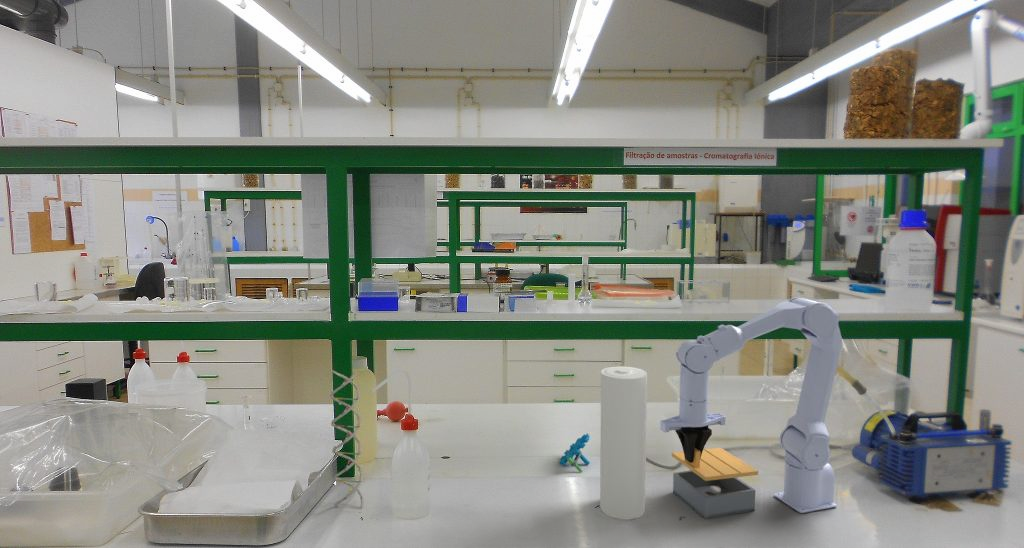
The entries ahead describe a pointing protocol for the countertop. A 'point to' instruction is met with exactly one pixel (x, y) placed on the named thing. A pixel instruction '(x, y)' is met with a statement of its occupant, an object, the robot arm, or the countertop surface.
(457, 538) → the countertop surface
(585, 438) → the blue knobbly piece
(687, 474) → the tub
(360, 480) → the dna model
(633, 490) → the cylinder container
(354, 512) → the countertop surface
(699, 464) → the lid
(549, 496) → the countertop surface
